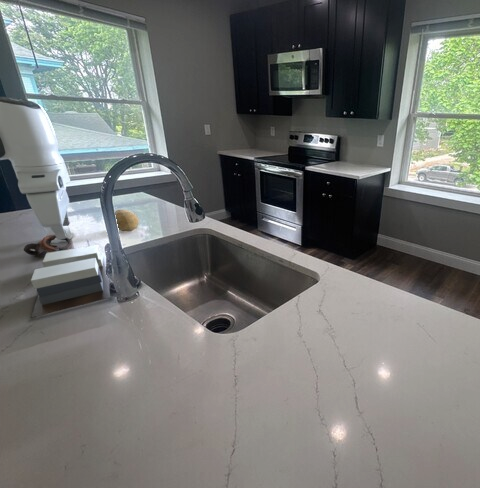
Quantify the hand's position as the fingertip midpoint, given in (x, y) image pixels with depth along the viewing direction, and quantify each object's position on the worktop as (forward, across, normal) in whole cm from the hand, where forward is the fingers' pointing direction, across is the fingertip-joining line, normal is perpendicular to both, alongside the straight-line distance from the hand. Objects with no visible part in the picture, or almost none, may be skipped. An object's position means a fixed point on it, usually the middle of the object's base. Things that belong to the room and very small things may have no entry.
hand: (64, 231), depth 74 cm
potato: (+20, -48, +12) cm, 53 cm away
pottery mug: (+20, -34, -11) cm, 41 cm away
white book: (+13, -2, -3) cm, 14 cm away
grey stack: (+18, -2, -3) cm, 19 cm away
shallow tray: (+20, -10, -3) cm, 22 cm away
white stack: (+18, -18, -3) cm, 26 cm away
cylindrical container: (+20, -50, -10) cm, 55 cm away
